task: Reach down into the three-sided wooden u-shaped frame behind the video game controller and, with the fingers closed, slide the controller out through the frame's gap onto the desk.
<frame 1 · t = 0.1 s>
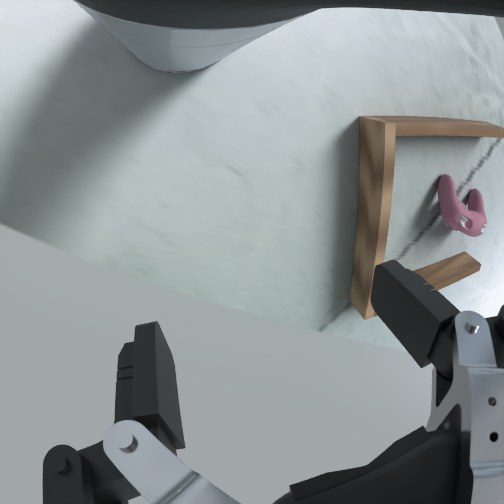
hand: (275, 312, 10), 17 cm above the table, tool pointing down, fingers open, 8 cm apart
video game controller: (450, 199, 34), on the table
wooden u-shaped frame: (430, 205, 33), on the table
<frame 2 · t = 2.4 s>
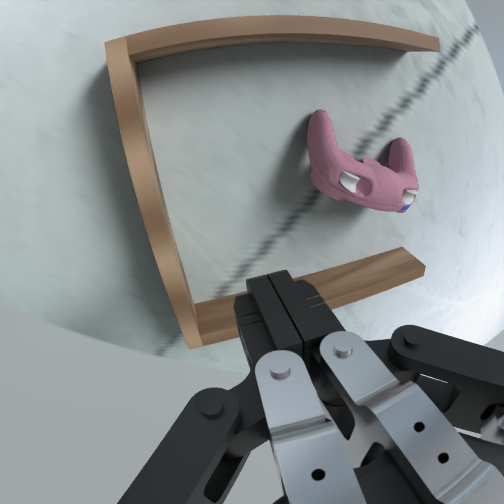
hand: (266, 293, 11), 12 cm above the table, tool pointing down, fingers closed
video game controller: (349, 155, 23), on the table
wooden u-shaped frame: (300, 170, 23), on the table
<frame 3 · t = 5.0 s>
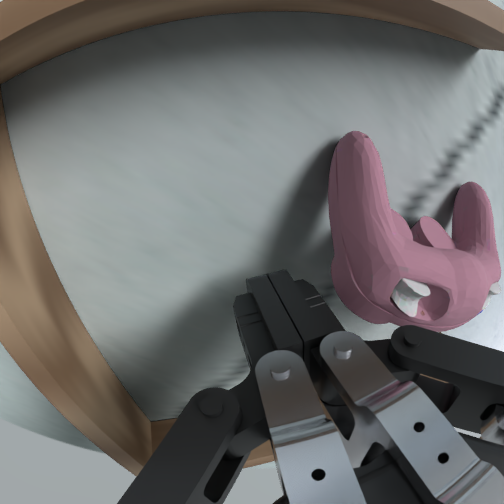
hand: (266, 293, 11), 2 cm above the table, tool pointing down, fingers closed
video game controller: (396, 211, 13), on the table, touching gripper
wooden u-shaped frame: (303, 257, 13), on the table
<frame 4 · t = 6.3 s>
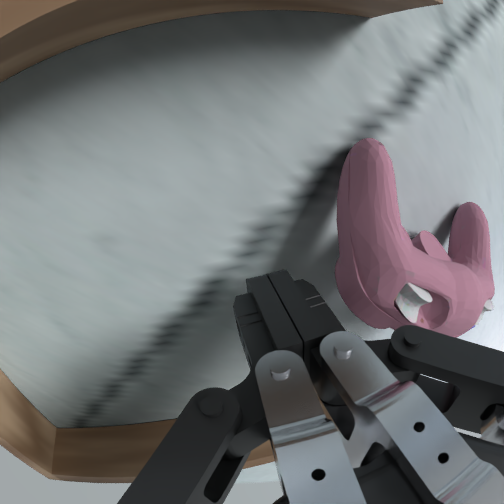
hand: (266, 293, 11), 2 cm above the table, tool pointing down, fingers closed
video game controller: (397, 223, 14), on the table, touching gripper
wooden u-shaped frame: (124, 298, 12), on the table
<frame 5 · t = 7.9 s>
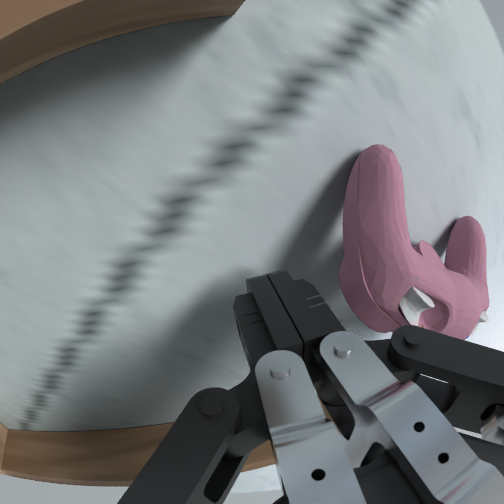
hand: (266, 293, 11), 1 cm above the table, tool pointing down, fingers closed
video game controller: (397, 231, 14), on the table, touching gripper
wooden u-shaped frame: (25, 323, 11), on the table
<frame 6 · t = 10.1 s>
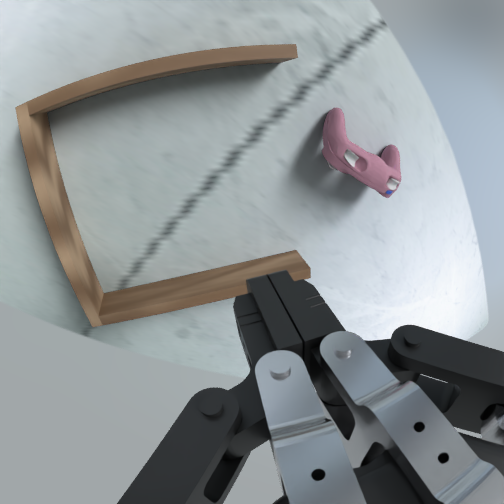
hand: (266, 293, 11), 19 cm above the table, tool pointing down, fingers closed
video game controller: (351, 149, 30), on the table
wooden u-shaped frame: (171, 183, 27), on the table
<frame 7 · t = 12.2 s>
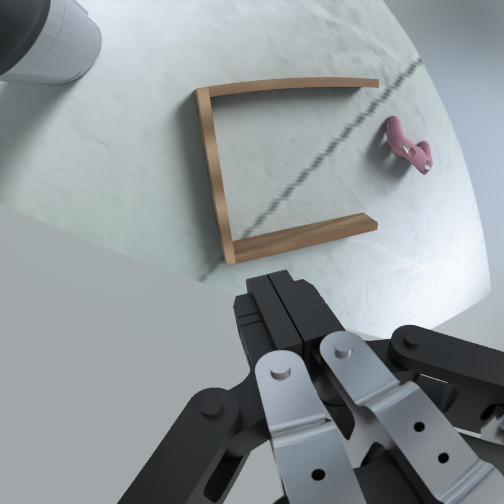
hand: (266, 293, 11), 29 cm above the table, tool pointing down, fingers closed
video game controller: (399, 143, 42), on the table
wooden u-shaped frame: (293, 160, 39), on the table
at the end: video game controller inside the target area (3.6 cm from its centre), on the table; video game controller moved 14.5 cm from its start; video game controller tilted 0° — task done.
